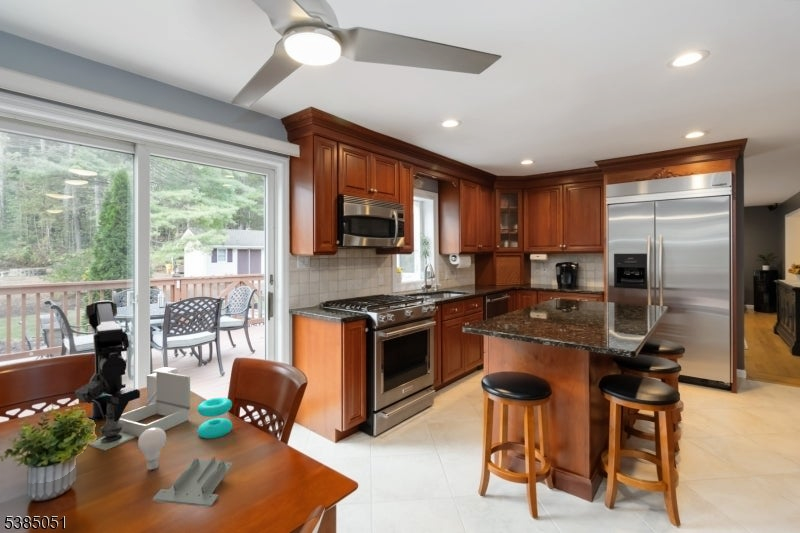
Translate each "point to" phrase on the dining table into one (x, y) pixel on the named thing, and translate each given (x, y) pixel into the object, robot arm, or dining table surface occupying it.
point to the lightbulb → (152, 445)
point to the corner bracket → (153, 382)
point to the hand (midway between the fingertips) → (111, 420)
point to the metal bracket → (196, 483)
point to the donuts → (216, 425)
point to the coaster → (111, 444)
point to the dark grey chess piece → (111, 427)
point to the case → (161, 405)
